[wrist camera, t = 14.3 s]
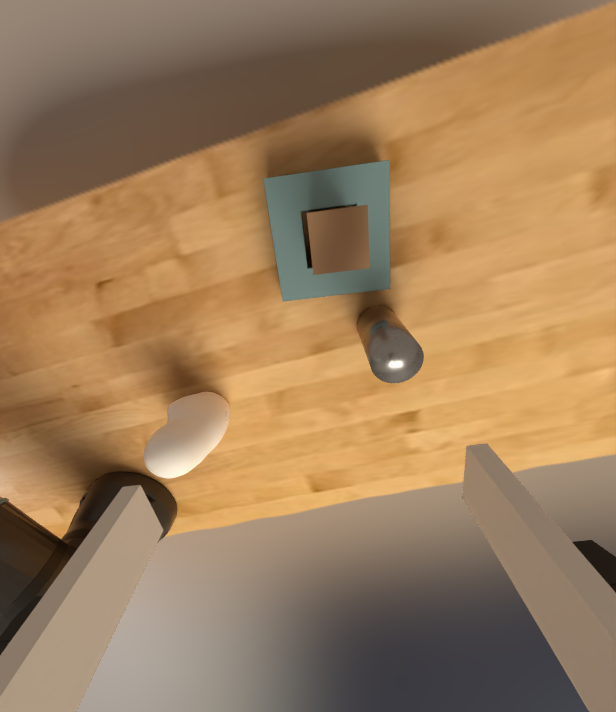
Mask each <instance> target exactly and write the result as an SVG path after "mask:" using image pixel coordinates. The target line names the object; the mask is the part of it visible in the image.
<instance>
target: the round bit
mask: <svg viewBox="0 0 616 712" xmlns="http://www.w3.org/2000/svg"><path fill="white" fill-rule="evenodd" d="M357 330H358V333H359V336H360V339H361V341H362V344H363V347H364V350H365V353H366V355H367V358H368V361H369V364H370V366H371V369H372V372H373V373H374V375H375V376H376V377H377V378H379V379H380V380H382V381H384V382H388V383H400V382H404V381H406V380H408V379H410V378H412V377H413V376H414V375H415V374H416V373H417V372H418V371H419V370H420V368H421V366H422V364H423V358H424V356H423V351H422V348H421V347H420V345H419V344H418V343H417V341H416V340H415V339H414V338H413V336H412V335H411V334H410V333H409V331H408V330H407V329H406V328H405V326H404V325H403V324H402V322H401V321H400V320H399V319H398V317H397V316H396V315H395V314H394V312H393V311H392V310H390V309H389V308H387V307H385V306H373V307H370V308H368V309H366V310H365V311H364V312H363V313H362V314H361V315H360V317H359V319H358V322H357Z"/></svg>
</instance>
